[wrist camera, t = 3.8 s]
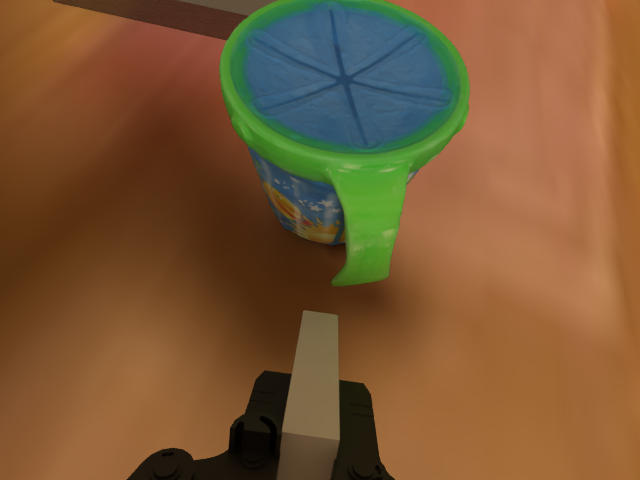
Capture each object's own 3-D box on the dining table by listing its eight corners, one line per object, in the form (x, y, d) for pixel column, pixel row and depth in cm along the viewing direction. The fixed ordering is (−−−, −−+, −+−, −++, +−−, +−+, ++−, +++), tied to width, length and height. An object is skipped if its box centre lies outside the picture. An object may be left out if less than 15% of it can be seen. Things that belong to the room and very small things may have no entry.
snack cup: (424, 313, 21) (524, 224, 12) (238, 316, 20) (193, 224, 11) (389, 115, 28) (435, -33, 19) (252, 112, 27) (232, -45, 18)
